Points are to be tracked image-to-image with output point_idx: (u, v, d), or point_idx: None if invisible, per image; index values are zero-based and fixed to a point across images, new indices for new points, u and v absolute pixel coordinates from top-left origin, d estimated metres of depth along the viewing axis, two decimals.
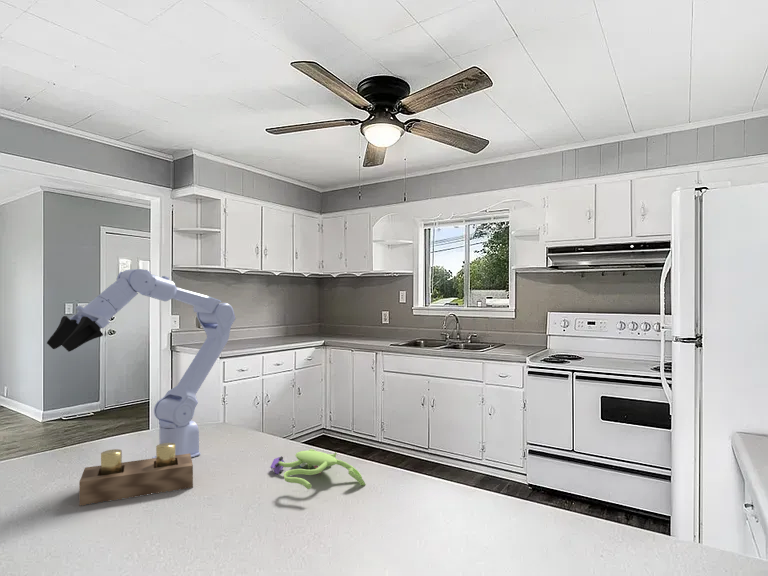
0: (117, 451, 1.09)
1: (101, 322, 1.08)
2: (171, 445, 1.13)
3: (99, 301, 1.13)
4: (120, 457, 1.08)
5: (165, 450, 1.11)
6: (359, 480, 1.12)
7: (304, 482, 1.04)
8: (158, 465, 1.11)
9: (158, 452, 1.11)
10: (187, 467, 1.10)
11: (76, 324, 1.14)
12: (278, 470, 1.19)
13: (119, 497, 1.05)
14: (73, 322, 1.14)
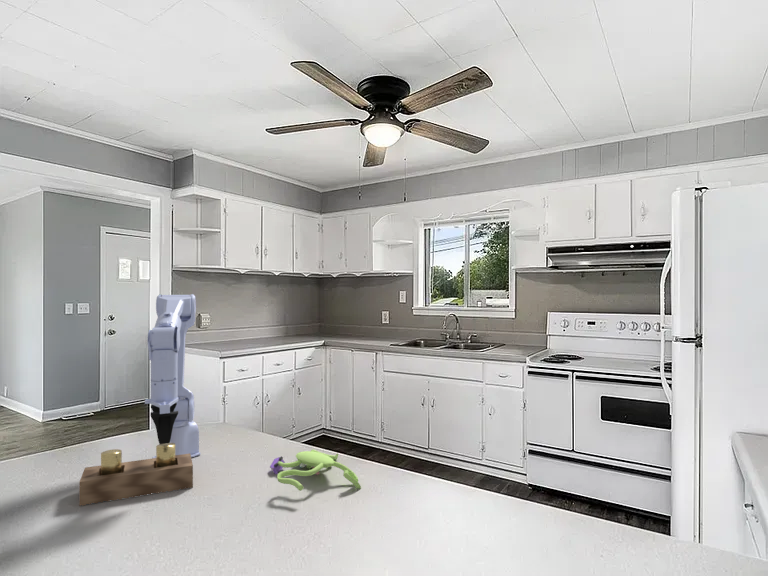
0: (117, 451, 1.09)
1: (163, 410, 1.06)
2: (171, 445, 1.13)
3: (153, 386, 1.10)
4: (120, 457, 1.08)
5: (165, 450, 1.11)
6: (354, 483, 1.10)
7: (296, 484, 1.03)
8: (158, 465, 1.11)
9: (158, 452, 1.11)
10: (187, 467, 1.10)
11: None
12: (277, 470, 1.19)
13: (119, 497, 1.05)
14: None
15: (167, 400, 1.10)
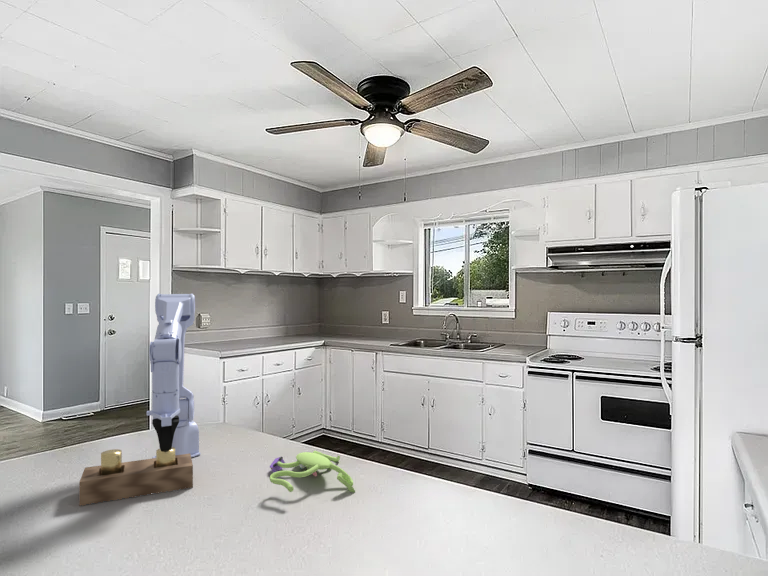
0: (117, 451, 1.09)
1: (165, 423, 1.06)
2: (171, 449, 1.13)
3: (154, 398, 1.10)
4: (120, 457, 1.08)
5: (165, 455, 1.11)
6: (348, 486, 1.08)
7: (287, 485, 1.02)
8: None
9: (158, 456, 1.11)
10: (187, 467, 1.10)
11: None
12: (276, 470, 1.19)
13: (119, 497, 1.05)
14: None
15: (169, 412, 1.10)
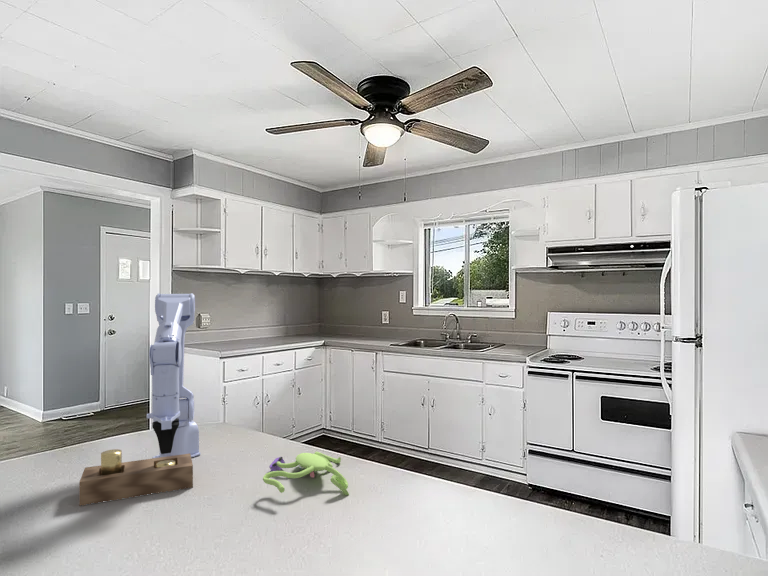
0: (117, 451, 1.09)
1: (165, 426, 1.06)
2: (171, 462, 1.13)
3: (154, 401, 1.10)
4: (120, 457, 1.08)
5: None
6: (342, 489, 1.07)
7: (278, 485, 1.02)
8: None
9: None
10: (187, 467, 1.10)
11: None
12: (275, 470, 1.19)
13: (119, 497, 1.05)
14: None
15: (169, 415, 1.10)
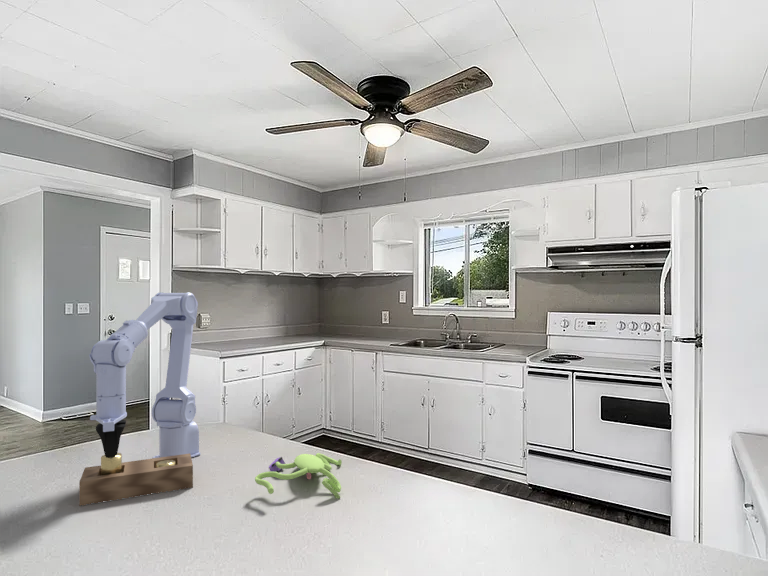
0: (117, 454, 1.09)
1: (106, 428, 1.01)
2: (171, 462, 1.13)
3: (98, 401, 1.06)
4: (120, 460, 1.08)
5: None
6: (333, 492, 1.05)
7: (268, 486, 1.02)
8: None
9: None
10: (187, 467, 1.10)
11: None
12: (274, 470, 1.20)
13: (119, 497, 1.05)
14: None
15: (113, 416, 1.06)
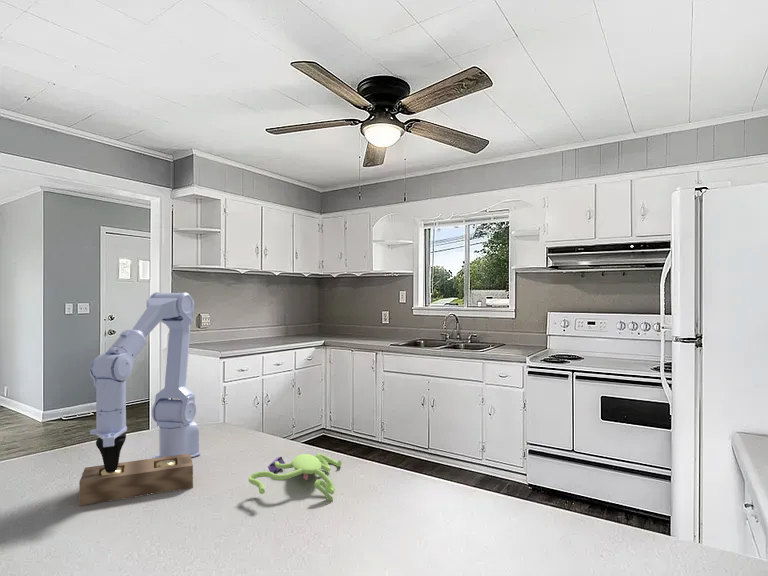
0: (117, 469, 1.09)
1: (107, 443, 1.01)
2: (171, 462, 1.13)
3: (98, 416, 1.06)
4: None
5: None
6: (326, 494, 1.04)
7: (259, 486, 1.02)
8: None
9: None
10: (187, 467, 1.10)
11: None
12: (273, 470, 1.20)
13: (119, 497, 1.05)
14: None
15: (113, 431, 1.06)
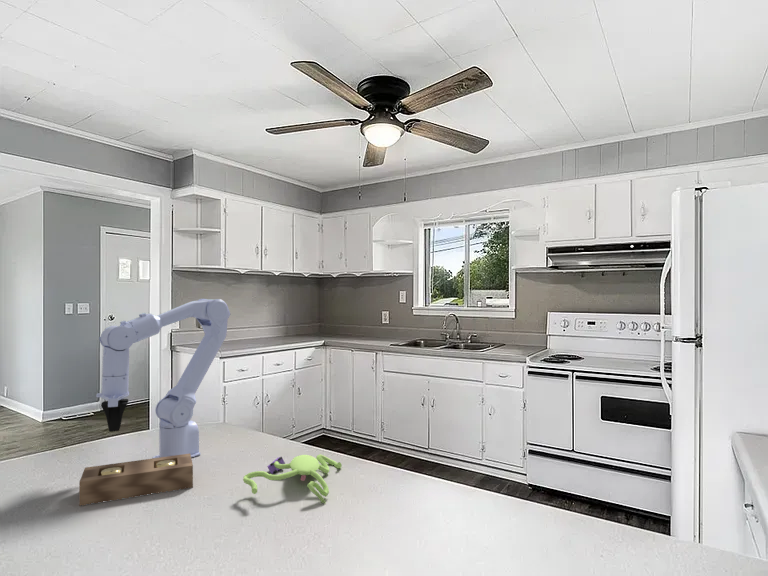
0: (117, 469, 1.09)
1: (111, 404, 1.13)
2: (171, 462, 1.13)
3: (104, 381, 1.17)
4: None
5: None
6: (318, 496, 1.03)
7: (252, 486, 1.02)
8: None
9: None
10: (187, 467, 1.10)
11: None
12: (273, 469, 1.20)
13: (119, 497, 1.05)
14: None
15: (117, 394, 1.18)
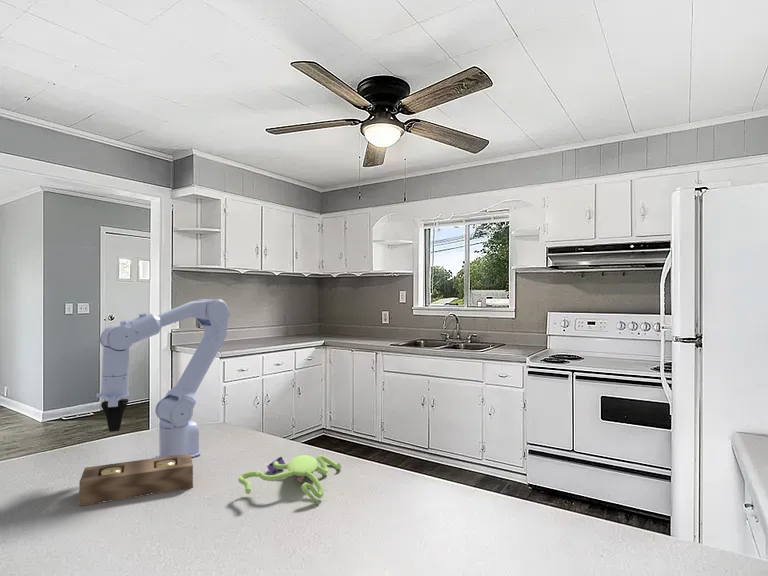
0: (117, 469, 1.09)
1: (111, 404, 1.13)
2: (171, 462, 1.13)
3: (104, 381, 1.17)
4: None
5: None
6: (312, 498, 1.02)
7: (246, 486, 1.02)
8: None
9: None
10: (187, 467, 1.10)
11: None
12: (272, 469, 1.20)
13: (119, 497, 1.05)
14: None
15: (117, 394, 1.18)
